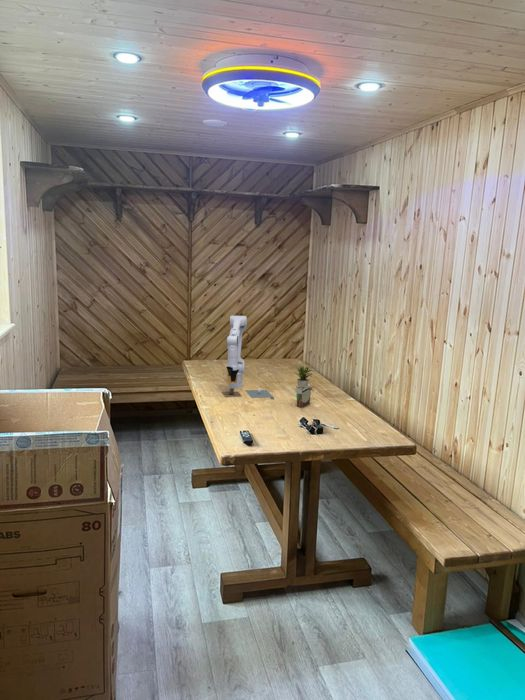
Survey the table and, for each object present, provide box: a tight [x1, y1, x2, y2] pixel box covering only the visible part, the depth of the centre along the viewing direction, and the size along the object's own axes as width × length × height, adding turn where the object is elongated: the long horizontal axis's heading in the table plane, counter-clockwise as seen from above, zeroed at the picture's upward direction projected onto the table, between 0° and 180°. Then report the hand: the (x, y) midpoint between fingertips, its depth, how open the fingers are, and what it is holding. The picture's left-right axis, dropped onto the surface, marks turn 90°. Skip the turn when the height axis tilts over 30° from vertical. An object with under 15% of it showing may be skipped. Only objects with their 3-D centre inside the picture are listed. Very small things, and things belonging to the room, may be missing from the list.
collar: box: [226, 373, 237, 384], centre depth 308 cm, size 6×6×4 cm
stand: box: [221, 387, 243, 398], centre depth 310 cm, size 12×10×4 cm
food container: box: [294, 385, 312, 409], centre depth 295 cm, size 12×6×10 cm, turn 149°
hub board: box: [244, 387, 275, 400], centre depth 313 cm, size 18×13×4 cm
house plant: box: [294, 363, 316, 387], centre depth 330 cm, size 14×14×16 cm
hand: (232, 380), depth 308 cm, fingers closed on collar, 5 cm apart
